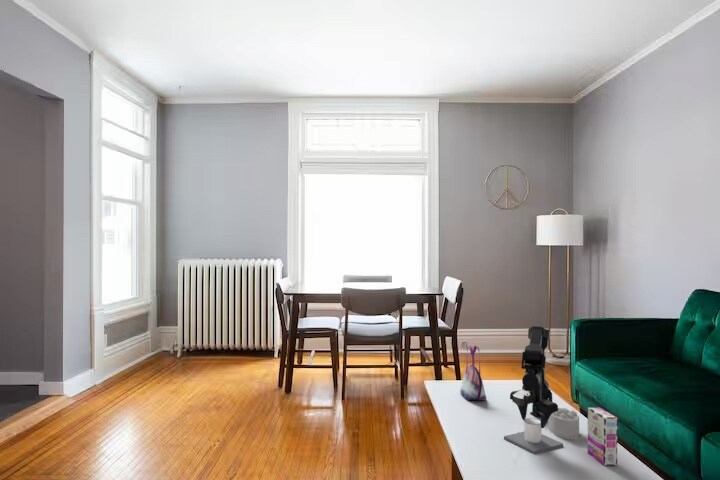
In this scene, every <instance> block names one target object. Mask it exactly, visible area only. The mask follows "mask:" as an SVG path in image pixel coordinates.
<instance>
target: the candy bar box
mask: <svg viewBox="0 0 720 480" xmlns="http://www.w3.org/2000/svg"><path fill="white" fill-rule="evenodd" d="M618 423H619V418H618V417H617V416H616V415H613V414H612V413H610V412H608V411H606V410H605V409H604V408H601V407H598V406H597V407H587V443H586V445H587V450H586V451H587V454H589V455H590V456H592V457H593V458H594V459H595V460H596V461H597V462H599V463H600V464H602V465H603V466H605V467H609V466H608V465H617V466H618V437H619V436H618V435H619V434H618V431H619V430H618V428H619V427H618V425H619V424H618Z"/></svg>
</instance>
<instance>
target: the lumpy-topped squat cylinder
mask: <svg viewBox="0 0 720 480" xmlns="http://www.w3.org/2000/svg"><path fill="white" fill-rule="evenodd" d="M547 426H548V427H547V429H548V431H549V432H550V433H552V435H554V436H556V437H559V438H562V439H567V440H576V439H578V438H579V437H580V417H579V415H578V413H577V412H576V411H575V410H569V409H568V408H566V407H561V408H560V407H558V411H556V412H555V413H552V415H551V416H550V417H549V419H548V421H547ZM578 436H579V437H578ZM575 438H576V439H575Z"/></svg>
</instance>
